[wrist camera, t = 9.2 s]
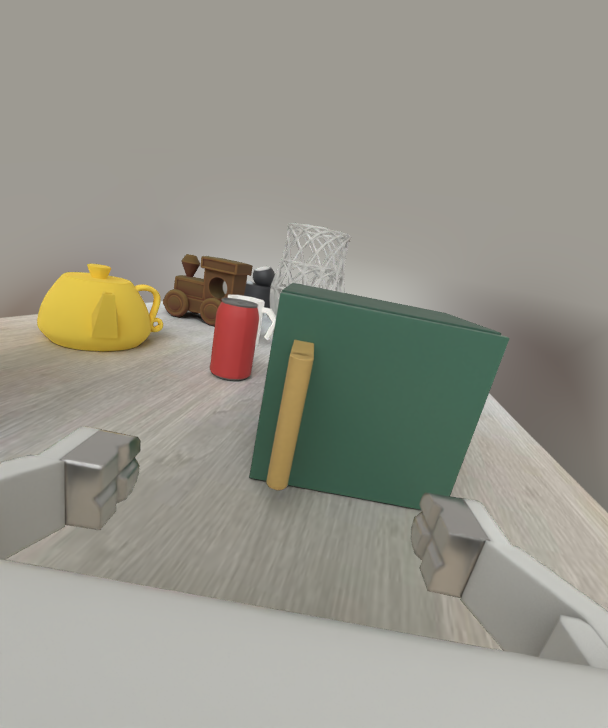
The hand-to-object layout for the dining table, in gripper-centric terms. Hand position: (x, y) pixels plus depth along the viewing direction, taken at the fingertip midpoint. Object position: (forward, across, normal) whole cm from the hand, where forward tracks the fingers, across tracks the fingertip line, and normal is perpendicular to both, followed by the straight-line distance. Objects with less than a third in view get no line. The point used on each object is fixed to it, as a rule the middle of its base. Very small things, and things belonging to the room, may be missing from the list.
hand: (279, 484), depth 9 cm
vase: (+102, +2, +13) cm, 103 cm away
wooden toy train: (+80, +28, +13) cm, 86 cm away
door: (+15, -7, +13) cm, 21 cm away
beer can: (+43, +11, +13) cm, 46 cm away
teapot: (+47, +33, +13) cm, 59 cm away
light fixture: (+116, +20, +13) cm, 118 cm away
